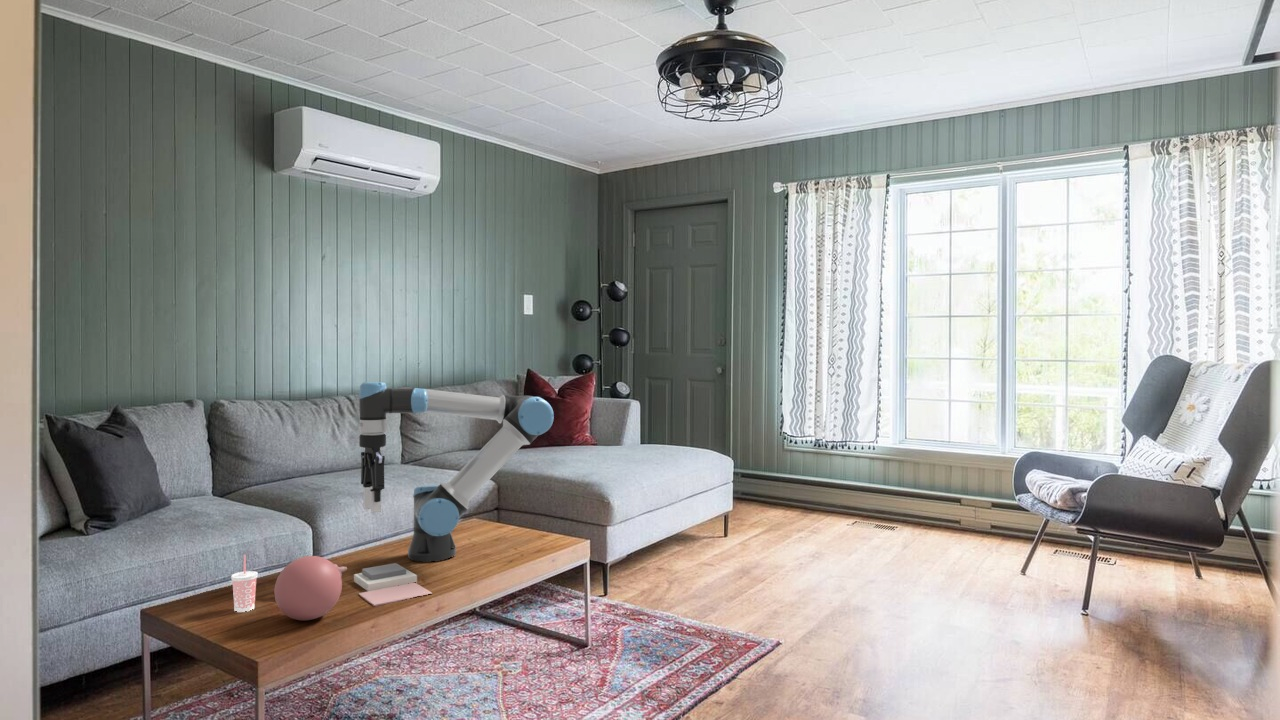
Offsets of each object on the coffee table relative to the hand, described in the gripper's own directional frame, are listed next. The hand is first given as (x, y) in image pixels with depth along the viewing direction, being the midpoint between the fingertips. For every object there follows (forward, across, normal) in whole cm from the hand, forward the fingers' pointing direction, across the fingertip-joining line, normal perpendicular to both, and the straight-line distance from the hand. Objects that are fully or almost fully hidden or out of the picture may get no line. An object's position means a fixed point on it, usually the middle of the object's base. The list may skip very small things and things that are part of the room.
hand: (372, 510), depth 226 cm
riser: (+19, +11, 0) cm, 22 cm away
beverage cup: (+19, +12, -37) cm, 43 cm away
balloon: (+19, +28, -24) cm, 42 cm away
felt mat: (+19, +24, -2) cm, 31 cm away
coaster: (+17, +10, 0) cm, 20 cm away
